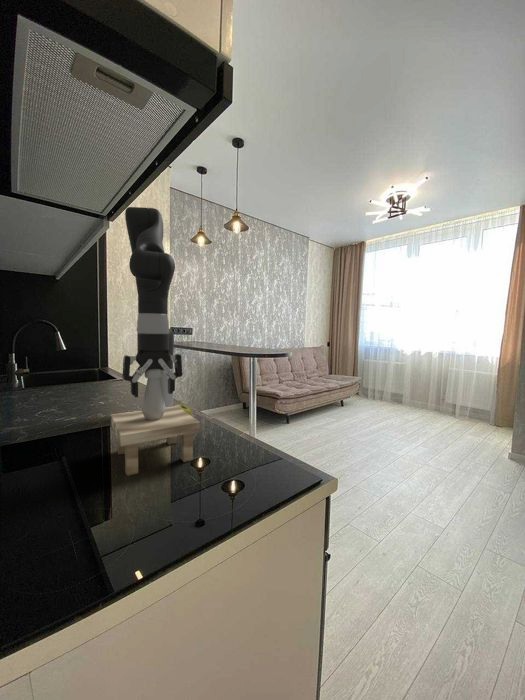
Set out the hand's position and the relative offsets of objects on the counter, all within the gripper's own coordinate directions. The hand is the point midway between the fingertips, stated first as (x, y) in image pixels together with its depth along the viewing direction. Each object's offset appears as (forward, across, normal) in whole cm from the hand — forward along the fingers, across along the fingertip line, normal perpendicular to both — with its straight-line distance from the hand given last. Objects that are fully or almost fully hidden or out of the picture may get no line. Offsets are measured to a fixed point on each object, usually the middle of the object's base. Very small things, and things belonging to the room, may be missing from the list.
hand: (153, 395), depth 75 cm
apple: (+16, +12, +16) cm, 26 cm away
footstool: (+16, 0, 0) cm, 16 cm away
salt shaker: (+6, 0, 0) cm, 6 cm away
